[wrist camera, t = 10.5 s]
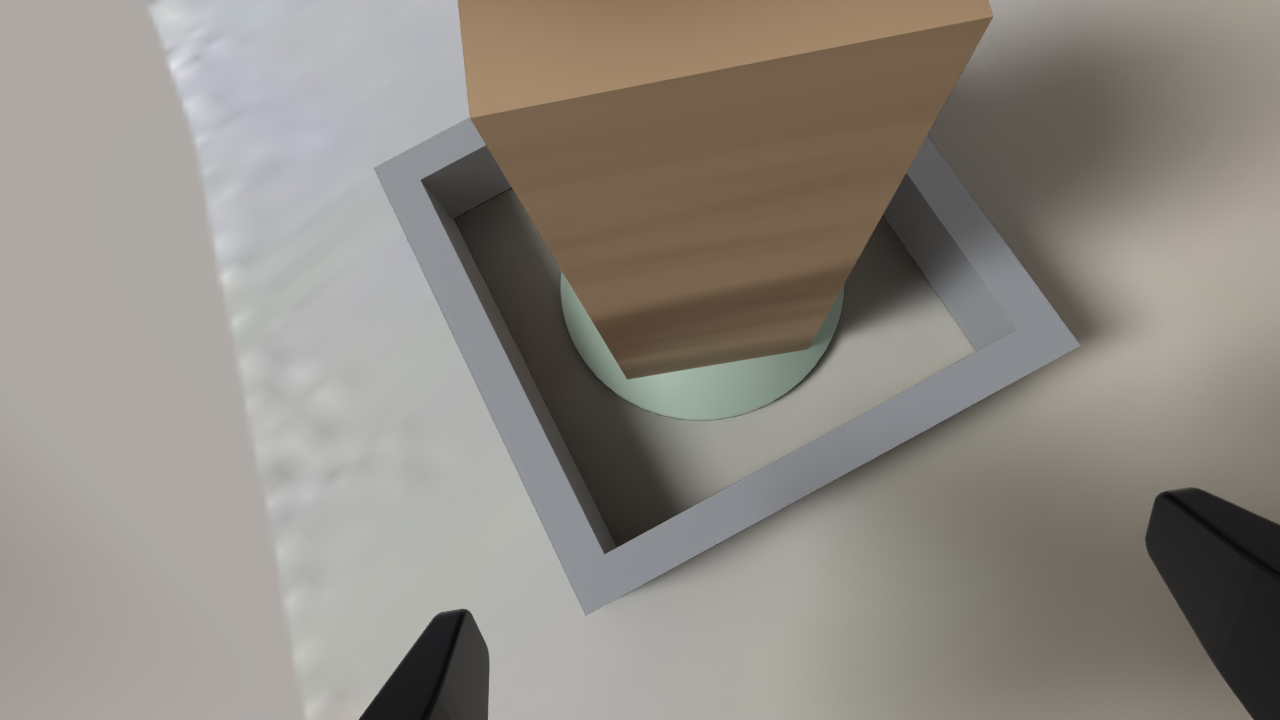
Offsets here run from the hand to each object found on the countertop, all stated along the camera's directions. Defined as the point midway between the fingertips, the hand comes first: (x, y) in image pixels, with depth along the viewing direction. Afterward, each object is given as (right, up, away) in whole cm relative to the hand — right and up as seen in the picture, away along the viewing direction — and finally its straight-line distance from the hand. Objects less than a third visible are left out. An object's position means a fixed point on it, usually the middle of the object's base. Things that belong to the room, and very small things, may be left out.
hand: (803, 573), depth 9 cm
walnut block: (0, +5, +11) cm, 12 cm away
